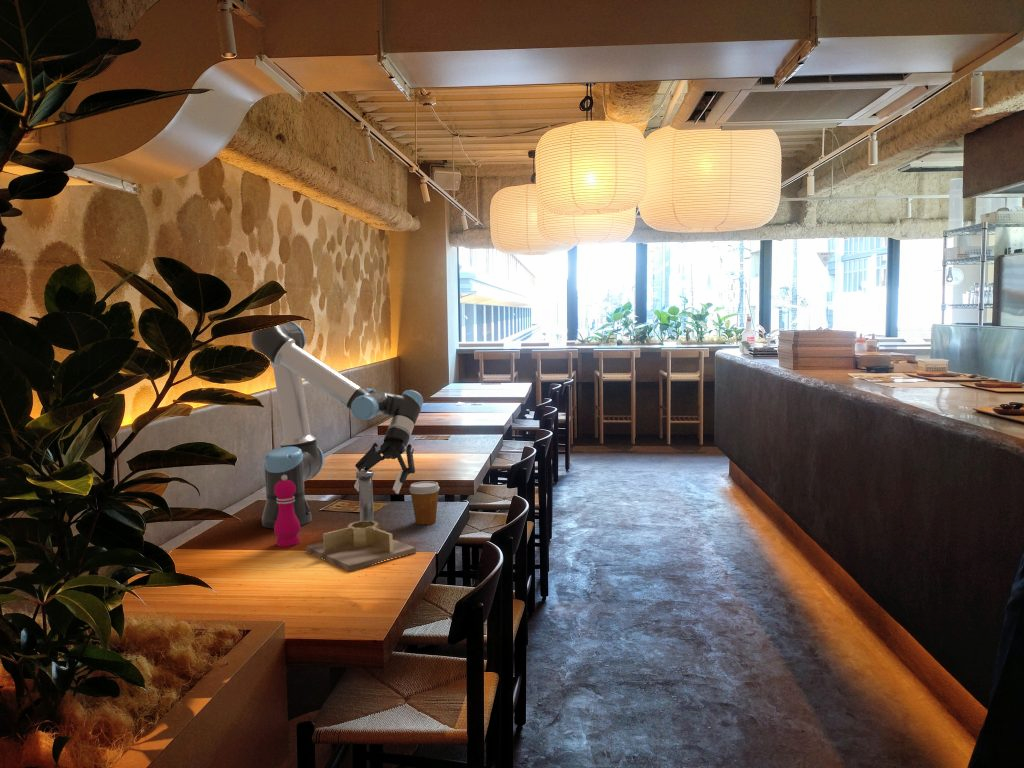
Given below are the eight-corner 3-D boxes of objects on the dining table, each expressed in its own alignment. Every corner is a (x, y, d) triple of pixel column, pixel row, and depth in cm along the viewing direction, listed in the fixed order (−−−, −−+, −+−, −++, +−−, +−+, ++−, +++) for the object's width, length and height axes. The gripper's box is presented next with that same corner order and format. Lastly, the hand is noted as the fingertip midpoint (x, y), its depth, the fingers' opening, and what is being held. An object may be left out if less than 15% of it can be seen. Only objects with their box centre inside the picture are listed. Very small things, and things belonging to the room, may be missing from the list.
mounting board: (305, 551, 197) (305, 546, 197) (368, 535, 210) (368, 530, 210) (350, 571, 179) (349, 565, 179) (415, 552, 193) (415, 547, 193)
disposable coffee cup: (413, 518, 228) (411, 481, 227) (443, 517, 228) (441, 480, 227) (407, 526, 219) (406, 488, 218) (438, 526, 219) (437, 487, 218)
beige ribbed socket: (317, 549, 194) (316, 531, 193) (368, 536, 205) (368, 519, 204) (351, 563, 181) (350, 544, 180) (404, 549, 191) (403, 531, 191)
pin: (355, 531, 215) (352, 472, 213) (370, 528, 218) (367, 469, 217) (364, 535, 211) (361, 474, 210) (379, 531, 214) (377, 471, 213)
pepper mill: (296, 547, 201) (292, 477, 200) (271, 547, 202) (267, 477, 200) (304, 539, 209) (300, 471, 207) (279, 540, 209) (276, 472, 207)
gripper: (437, 441, 227) (416, 499, 214) (370, 438, 236) (346, 494, 223) (429, 427, 221) (407, 485, 209) (360, 425, 231) (335, 481, 218)
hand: (375, 490), depth 216 cm, fingers open, 13 cm apart
